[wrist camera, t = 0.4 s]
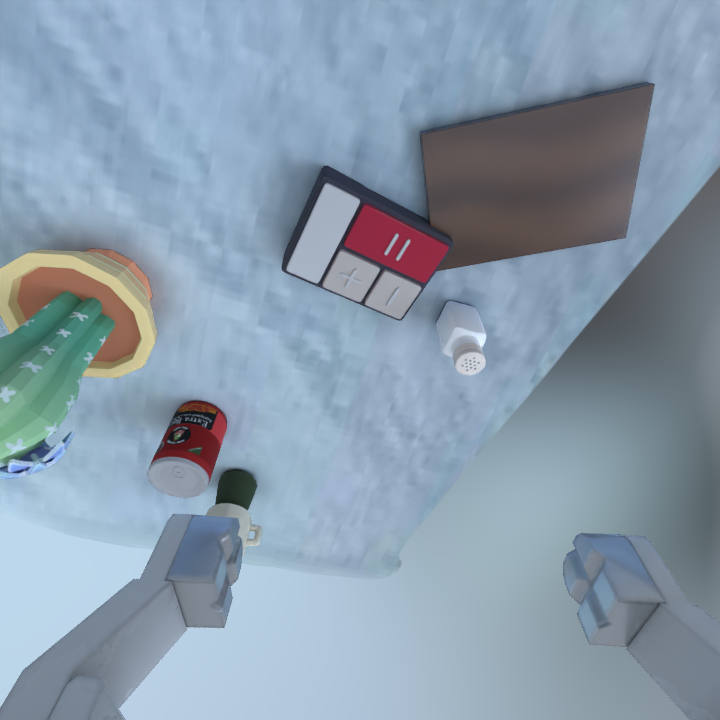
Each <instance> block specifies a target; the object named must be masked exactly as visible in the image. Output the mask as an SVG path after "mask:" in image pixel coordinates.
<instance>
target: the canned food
mask: <svg viewBox="0 0 720 720" xmlns="http://www.w3.org/2000/svg"><path fill="white" fill-rule="evenodd" d="M226 429H227V422H226V417H225V415H224V414H223V412H222V411H221V410H220V409H218V408H217V407H216V406H214V405H212V404H210V403H207V402H202V401H191V402H187V403H185V404H183V405H182V406H181V407H180V408H179V409H178V410H177V411H176V412H175V414H174V416H173V419H172V421H171V423H170V425H169V427H168V429H167V431H166V433H165V435H164V437H163V439H162V441H161V443H160V445H159V447H158V450H157V452H156V454H155V456H154V458H153V460H152V462H151V465H150V467H149V470H148V479H149V481H150V483H151V484H152V485H153V486H154V487H155V488H156V489H157V490H159V491H161V492H162V493H165V494H167V495H170V496H173V497H179V498H191V497H196V496H198V495H200V494H202V493H203V492H204V491H205V490H206V488H207V486H208V484H209V481H210V478H211V476H212V472H213V469H214V466H215V463H216V460H217V457H218V454H219V451H220V448H221V445H222V442H223V439H224V436H225V433H226Z"/></svg>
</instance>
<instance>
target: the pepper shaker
mask: <svg viewBox="0 0 720 720" xmlns="http://www.w3.org/2000/svg"><path fill="white" fill-rule="evenodd" d="M436 327H437V331H438V335H439V340H440V344H441V348H442V352H443V353H444V354H445V355H447V356H450V357H452V358H453V361H454V364H455V367H456V369H457V371H458V372H459V373H461V374H463V375H474V374H476V373H479V372H480V371H481V370H482V369H483V368H484V367H485V363H486V360H485V357H484V354H483V351H482V347H483V345H484V343H485V340H486V332H485V330H484V327H483V325H482V322H481V319H480V317H479V314H478V312H477V309H476V308H474V307H472V306H468V305H465V304H461V303H457V302H453V301H448V302H447V303H446V304H445V307H444V309H443V311H442V313H441V315H440V317H439V319H438V321H437V323H436Z"/></svg>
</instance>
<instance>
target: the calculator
mask: <svg viewBox="0 0 720 720" xmlns="http://www.w3.org/2000/svg"><path fill="white" fill-rule="evenodd" d="M453 246H454V242H453V240H452V238H451V237H450V236H449V235H447V234H445V233H444V232H442V231H440V230H438V229H436V228H434V227H432V226H431V225H430V223H429V221H428V220H426V219H424V218H423V217H421V216H419V215H417V214H415V213H413V212H411V211H410V210H408V209H406V208H404V207H402V206H400V205H398V204H396V203H394V202H392V201H390V200H389V199H387V198H385V197H383V196H381V195H379V194H377V193H375V192H373V191H371V190H370V189H368V188H366V187H365V186H363V185H362V184H360V183H358V182H356V181H355V180H353V179H351V178H349V177H347V176H345V175H344V174H342V173H340V172H338V171H336V170H334V169H333V168H331V167H329V166H324V167H323V168H322V170H321V172H320V174H319V176H318V179H317V181H316V183H315V185H314V188H313V190H312V192H311V194H310V197H309V199H308V201H307V203H306V206H305V208H304V210H303V212H302V215H301V217H300V219H299V221H298V224H297V226H296V228H295V230H294V233H293V235H292V237H291V240H290V242H289V244H288V246H287V249H286V251H285V253H284V258H283V263H282V271H283V272H285V273H287V274H290V275H292V276H294V277H297V278H299V279H302V280H304V281H306V282H309V283H311V284H313V285H316V286H318V287H320V288H323V289H325V290H328V291H330V292H332V293H335V294H337V295H339V296H342V297H344V298H346V299H349V300H351V301H354V302H356V303H358V304H361V305H363V306H365V307H368V308H370V309H372V310H375V311H377V312H379V313H382V314H384V315H387V316H389V317H391V318H394V319H396V320H402V319H403V318H404V317H405V315H406V314H407V312H408V311H409V309H410V308H411V306H412V305H413V304H414V302H415V301H416V299H417V298H418V296H419V295H420V294H421V292H422V291H423V289H424V288H425V286H426V285H427V283H428V282H429V281H430V279H431V278H432V276H433V275H434V273H435V272H436V271H437V269H438V268H439V266H440V265H441V263H442V262H443V260H444V259H445V258H446V256H447V255H448V253H449V252H450V250H451V249H452V247H453Z"/></svg>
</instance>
